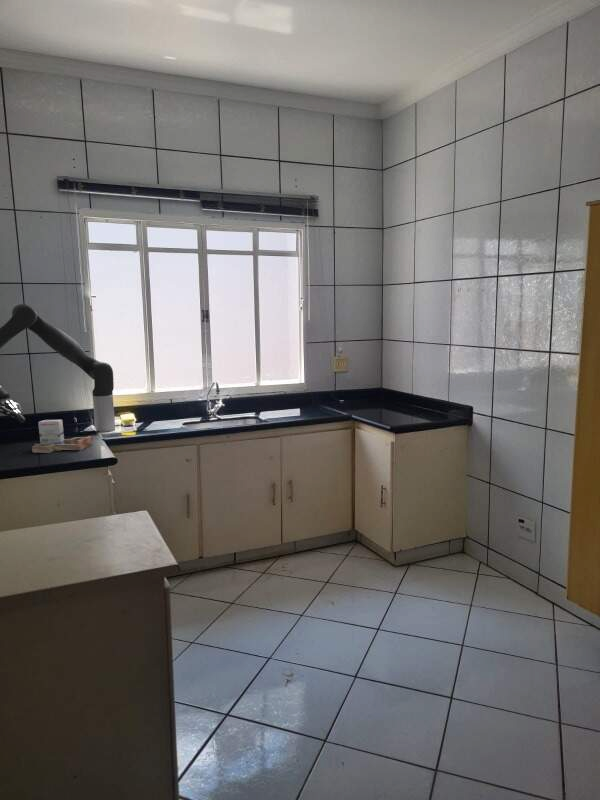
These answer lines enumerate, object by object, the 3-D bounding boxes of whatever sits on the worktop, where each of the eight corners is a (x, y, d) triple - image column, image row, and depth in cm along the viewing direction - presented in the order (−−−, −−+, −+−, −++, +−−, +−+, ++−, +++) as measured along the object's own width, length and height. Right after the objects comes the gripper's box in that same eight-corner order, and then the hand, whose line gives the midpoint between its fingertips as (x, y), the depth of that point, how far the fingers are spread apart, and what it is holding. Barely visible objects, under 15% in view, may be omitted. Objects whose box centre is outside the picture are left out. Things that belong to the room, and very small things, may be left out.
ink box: (65, 446, 245) (63, 419, 243) (60, 448, 240) (58, 421, 238) (45, 446, 244) (42, 419, 243) (40, 449, 240) (37, 421, 238)
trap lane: (54, 442, 252) (53, 433, 251) (97, 443, 249) (96, 434, 248) (28, 452, 234) (27, 442, 233) (74, 453, 231) (73, 443, 230)
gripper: (-11, 388, 236) (18, 417, 235) (10, 384, 248) (38, 412, 248) (-22, 401, 237) (8, 430, 237) (0, 396, 250) (28, 424, 250)
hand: (23, 421), depth 243 cm, fingers closed
